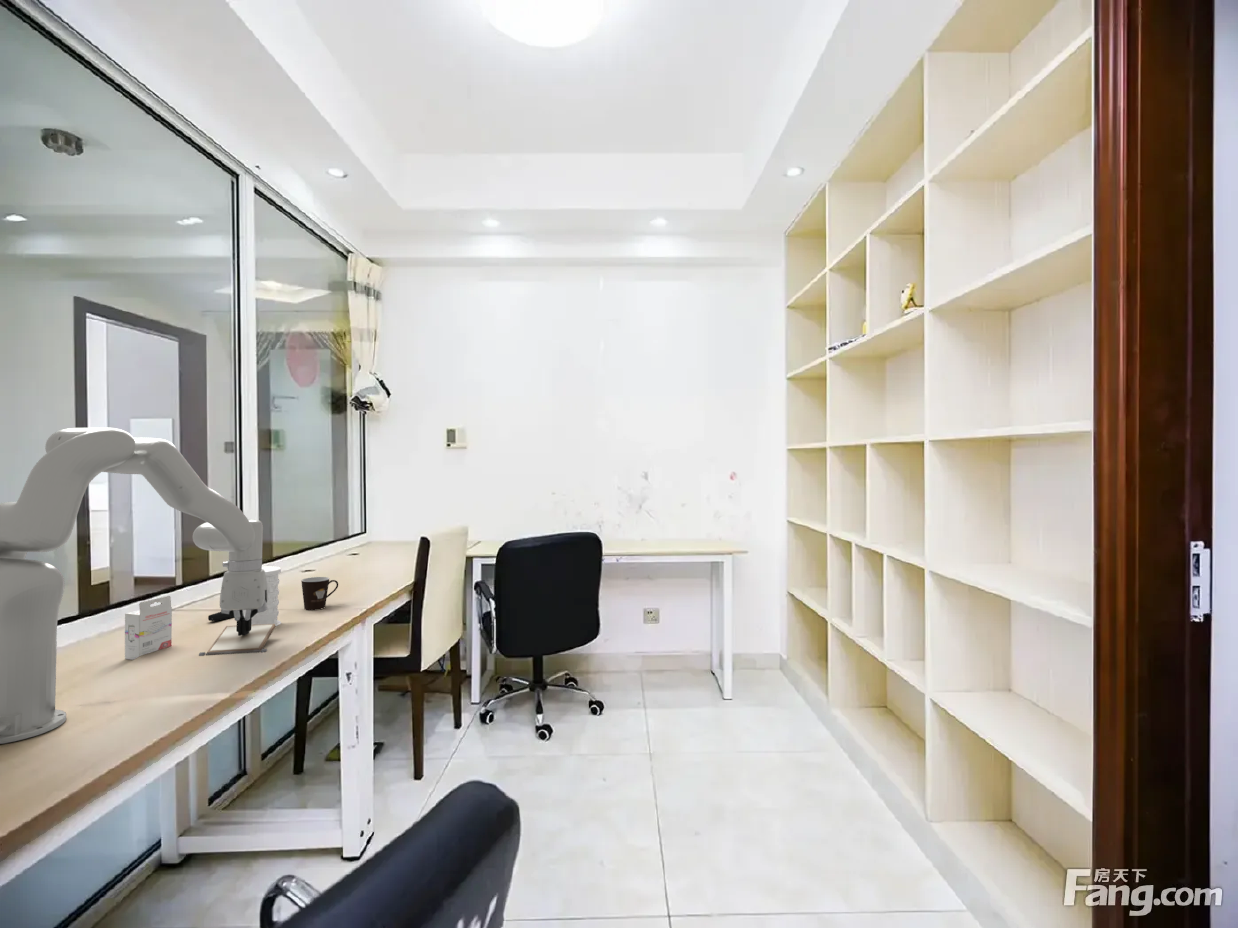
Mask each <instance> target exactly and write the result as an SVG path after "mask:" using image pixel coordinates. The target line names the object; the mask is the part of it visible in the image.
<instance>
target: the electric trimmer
mask: <svg viewBox="0 0 1238 928" xmlns="http://www.w3.org/2000/svg"><path fill="white" fill-rule="evenodd" d="M232 618H233V617H232V616H231V615H230V614H225V613H221V611H219V612H215V613H212V614H209V615H208V618H207V619H208V621H210V622H216V621H217V622H218V621H221V620H228V619H232Z"/></svg>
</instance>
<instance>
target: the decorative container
mask: <svg viewBox="0 0 1238 928" xmlns="http://www.w3.org/2000/svg"><path fill="white" fill-rule="evenodd" d="M262 569H264V571H265V575H266V581H267V592H268V599H267V603H266V604H267V610H266V611H264V612H260V613H257V614H255V615H254V616H253V617H252V621H251V625H259V624H275V627H277V626H279V625H282V621H281V620H278V616H279V614H280V613H279V609H278V606H279V604H280V601H279V594H280V590H279V584H280V579H279V574H280V573H282V568H281V567H280V566H276V565H275V566H273V565H272V566H270V565H269V566H268V565H267V566H264V565H262ZM243 613H244V618H245V614H246V610H243Z"/></svg>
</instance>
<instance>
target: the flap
mask: <svg viewBox="0 0 1238 928" xmlns="http://www.w3.org/2000/svg"><path fill="white" fill-rule="evenodd" d="M275 628H276V626H275V624H259V625H251V631H249V633H248V634H246V635H241V636H238V632H237V631H236V629H237V625H226V626H225V627H224V629H223V630H222V631H221V632H220V634H219V635H218V637H217V638H216V640H215V641H214V642H213V643H212V645H211V646H210V647H209V649H208V650H207V652H205V656H218V655H219V656H220V655H236V654H252V653H253V654H255V653H260V652H261V650H262V649H264V647H265V645H266V643H267V642H268V640H269V638H270V637H271V635H272V633H273V632H274V630H275Z"/></svg>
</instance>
